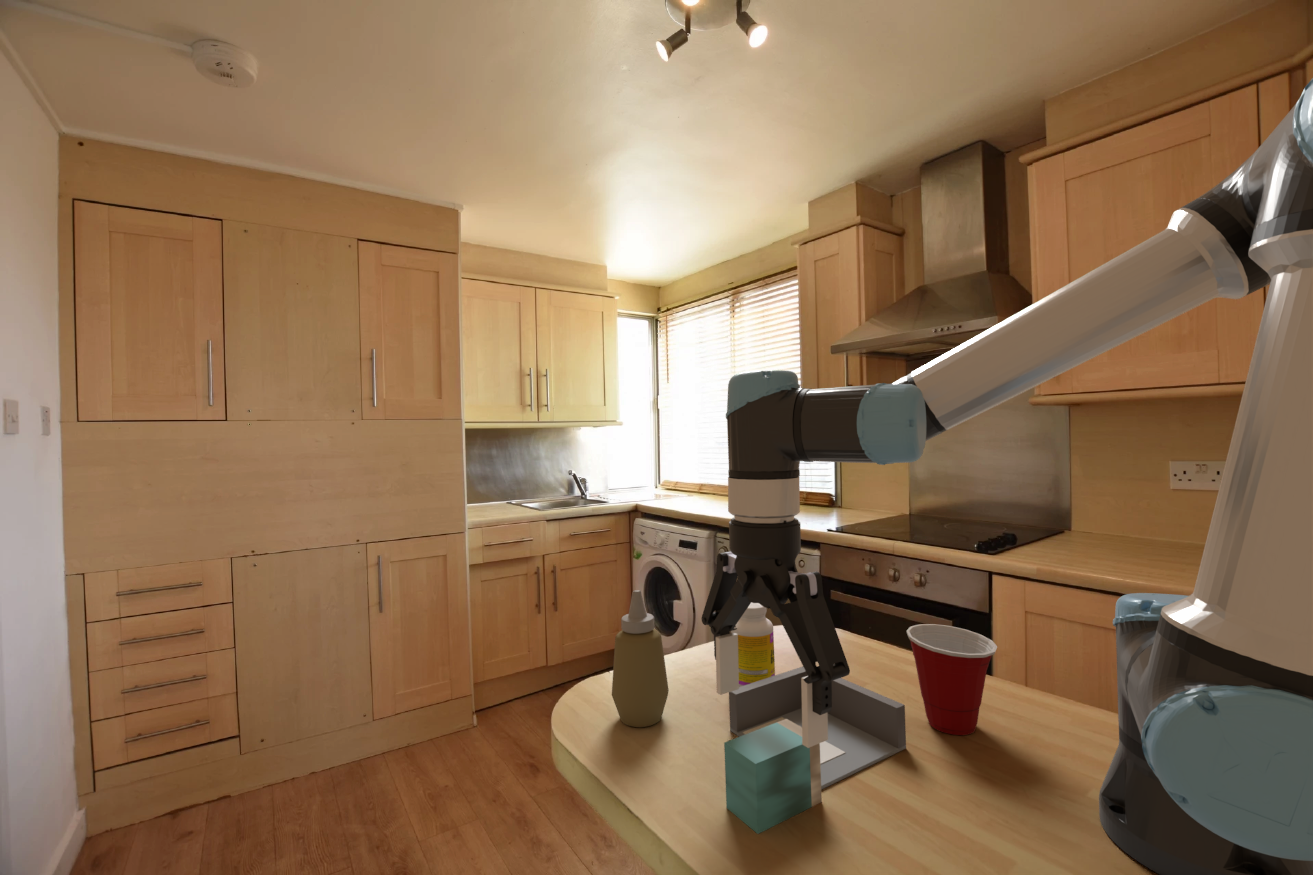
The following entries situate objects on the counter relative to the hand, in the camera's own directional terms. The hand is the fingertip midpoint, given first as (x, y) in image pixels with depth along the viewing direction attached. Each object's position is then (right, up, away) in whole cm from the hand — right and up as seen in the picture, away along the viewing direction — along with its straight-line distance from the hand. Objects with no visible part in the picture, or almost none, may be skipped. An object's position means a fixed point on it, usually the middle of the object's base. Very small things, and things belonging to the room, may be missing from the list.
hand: (767, 714), depth 63 cm
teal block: (+1, -10, 0) cm, 10 cm away
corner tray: (+9, -9, +13) cm, 18 cm away
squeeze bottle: (-14, -10, +20) cm, 27 cm away
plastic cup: (+28, -9, +15) cm, 33 cm away
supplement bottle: (+3, -10, +30) cm, 31 cm away
